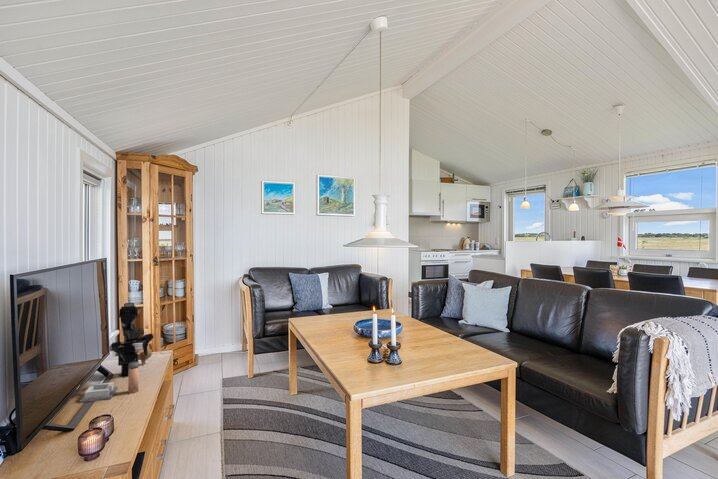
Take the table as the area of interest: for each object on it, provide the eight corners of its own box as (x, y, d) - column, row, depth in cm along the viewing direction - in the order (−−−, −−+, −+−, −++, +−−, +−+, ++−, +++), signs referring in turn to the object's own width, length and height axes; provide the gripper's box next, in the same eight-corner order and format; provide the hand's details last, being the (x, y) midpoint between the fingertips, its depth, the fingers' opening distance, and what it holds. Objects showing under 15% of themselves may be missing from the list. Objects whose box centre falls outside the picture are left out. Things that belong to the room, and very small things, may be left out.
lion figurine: (154, 362, 212) (154, 347, 212) (149, 365, 207) (149, 350, 207) (129, 362, 212) (129, 347, 211) (123, 365, 206) (123, 350, 206)
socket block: (88, 392, 172) (88, 383, 172) (117, 388, 176) (117, 380, 176) (79, 403, 161) (79, 394, 161) (110, 399, 165) (111, 390, 165)
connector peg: (126, 392, 173) (126, 363, 173) (135, 388, 177) (135, 361, 176) (130, 394, 171) (131, 365, 171) (139, 391, 174) (140, 363, 174)
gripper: (111, 328, 172) (117, 359, 167) (152, 319, 186) (160, 347, 181) (106, 336, 178) (112, 365, 174) (147, 326, 192) (154, 353, 188)
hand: (135, 358), depth 179 cm, fingers open, 9 cm apart
